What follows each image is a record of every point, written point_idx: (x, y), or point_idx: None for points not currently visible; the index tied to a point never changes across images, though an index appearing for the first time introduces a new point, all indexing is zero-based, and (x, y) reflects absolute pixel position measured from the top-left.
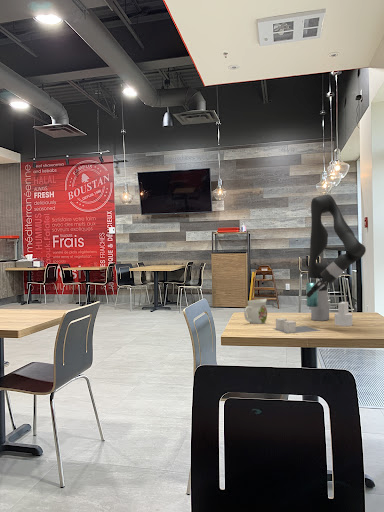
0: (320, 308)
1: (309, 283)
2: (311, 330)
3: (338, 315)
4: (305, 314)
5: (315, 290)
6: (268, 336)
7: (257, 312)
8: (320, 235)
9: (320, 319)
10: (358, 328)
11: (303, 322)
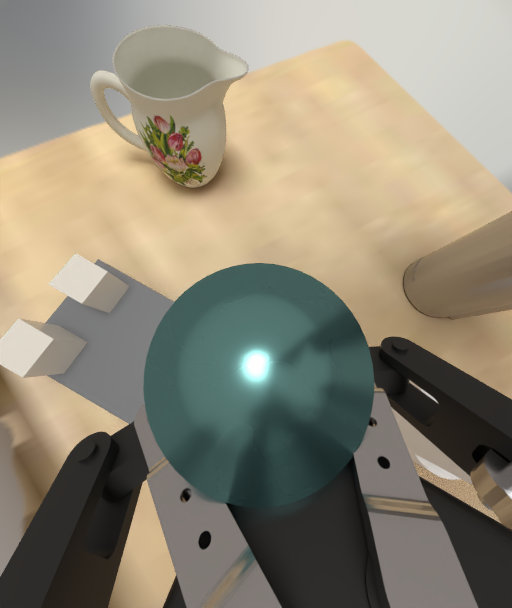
0: (458, 289)
1: (146, 373)
2: (141, 406)
3: (402, 420)
4: (482, 203)
5: (96, 510)
6: (2, 298)
7: (140, 135)
8: None
9: (414, 302)
10: None
11: (341, 268)
